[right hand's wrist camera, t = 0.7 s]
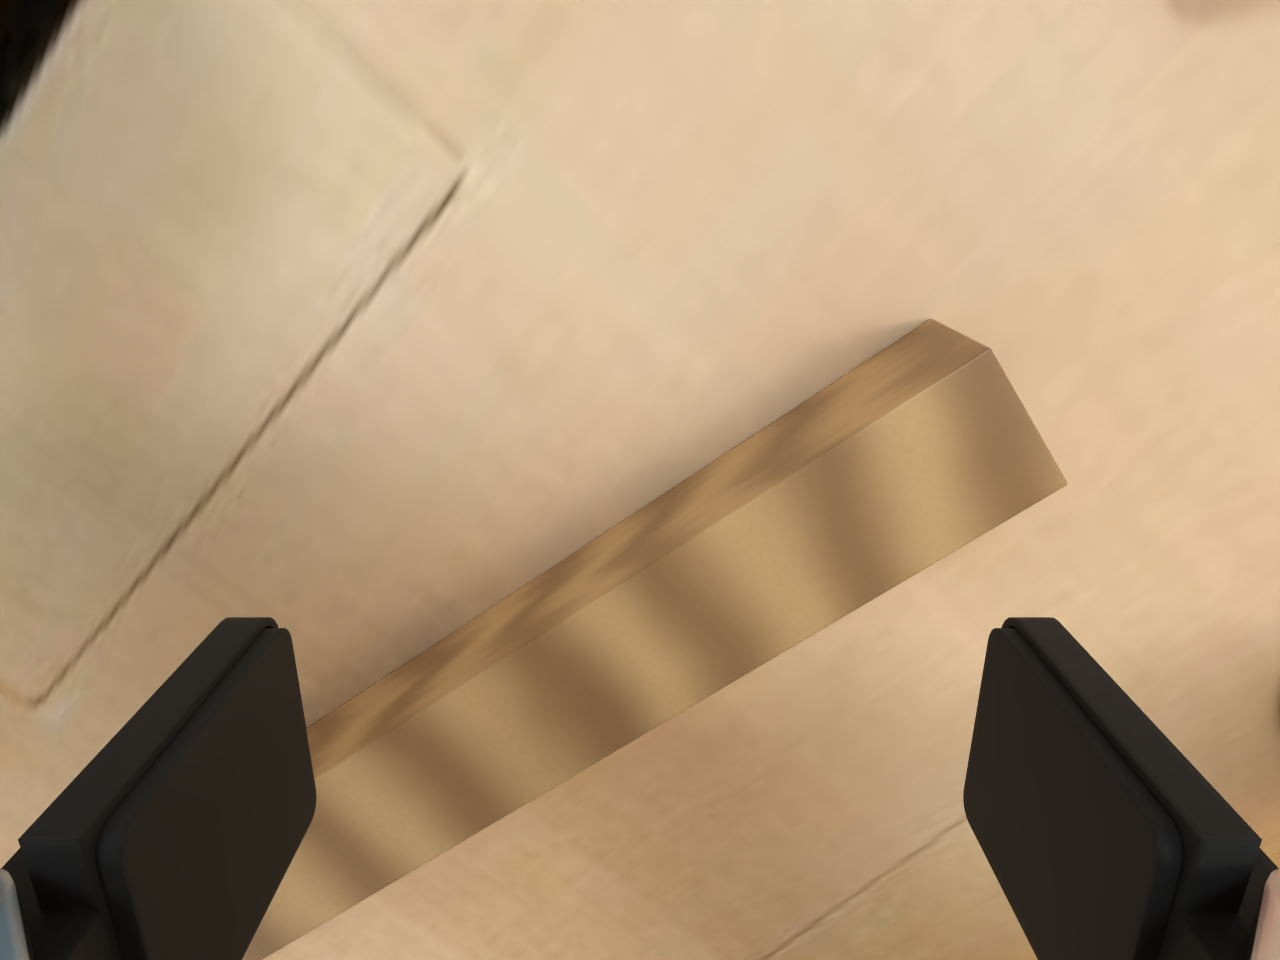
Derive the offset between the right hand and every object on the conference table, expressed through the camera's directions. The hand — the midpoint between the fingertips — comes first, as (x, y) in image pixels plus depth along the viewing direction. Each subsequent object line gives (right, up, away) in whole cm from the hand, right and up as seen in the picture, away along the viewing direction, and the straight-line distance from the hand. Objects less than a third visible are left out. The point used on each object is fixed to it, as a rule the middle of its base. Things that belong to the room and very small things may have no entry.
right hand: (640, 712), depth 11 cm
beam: (-8, -7, +27) cm, 29 cm away
